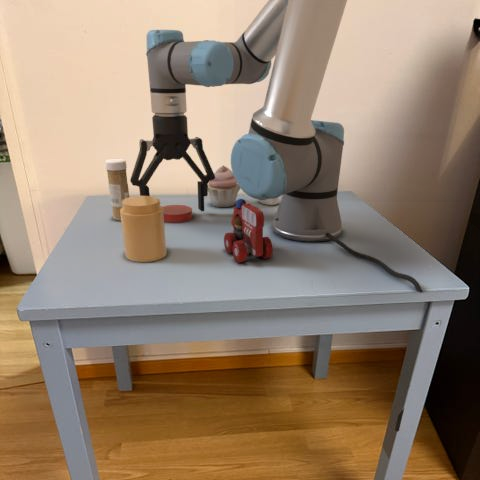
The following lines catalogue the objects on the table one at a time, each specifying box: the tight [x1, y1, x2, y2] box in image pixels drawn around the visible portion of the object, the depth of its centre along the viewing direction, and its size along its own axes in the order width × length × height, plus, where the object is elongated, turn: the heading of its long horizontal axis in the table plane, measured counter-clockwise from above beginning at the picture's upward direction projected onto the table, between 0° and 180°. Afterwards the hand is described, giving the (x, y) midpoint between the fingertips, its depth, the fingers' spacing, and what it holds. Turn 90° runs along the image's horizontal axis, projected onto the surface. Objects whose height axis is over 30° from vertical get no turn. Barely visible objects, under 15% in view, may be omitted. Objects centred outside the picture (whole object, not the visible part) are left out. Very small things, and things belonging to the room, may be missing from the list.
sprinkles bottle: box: [104, 158, 130, 222], centre depth 105 cm, size 5×4×14 cm
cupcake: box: [208, 165, 241, 208], centre depth 117 cm, size 9×9×10 cm
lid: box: [162, 204, 193, 224], centre depth 109 cm, size 8×8×2 cm
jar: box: [120, 195, 168, 263], centre depth 86 cm, size 8×8×11 cm
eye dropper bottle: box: [258, 197, 279, 206], centre depth 118 cm, size 4×6×12 cm
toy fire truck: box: [223, 198, 274, 263], centre depth 87 cm, size 7×12×10 cm, turn 22°
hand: (175, 212), depth 109 cm, fingers open, 12 cm apart
